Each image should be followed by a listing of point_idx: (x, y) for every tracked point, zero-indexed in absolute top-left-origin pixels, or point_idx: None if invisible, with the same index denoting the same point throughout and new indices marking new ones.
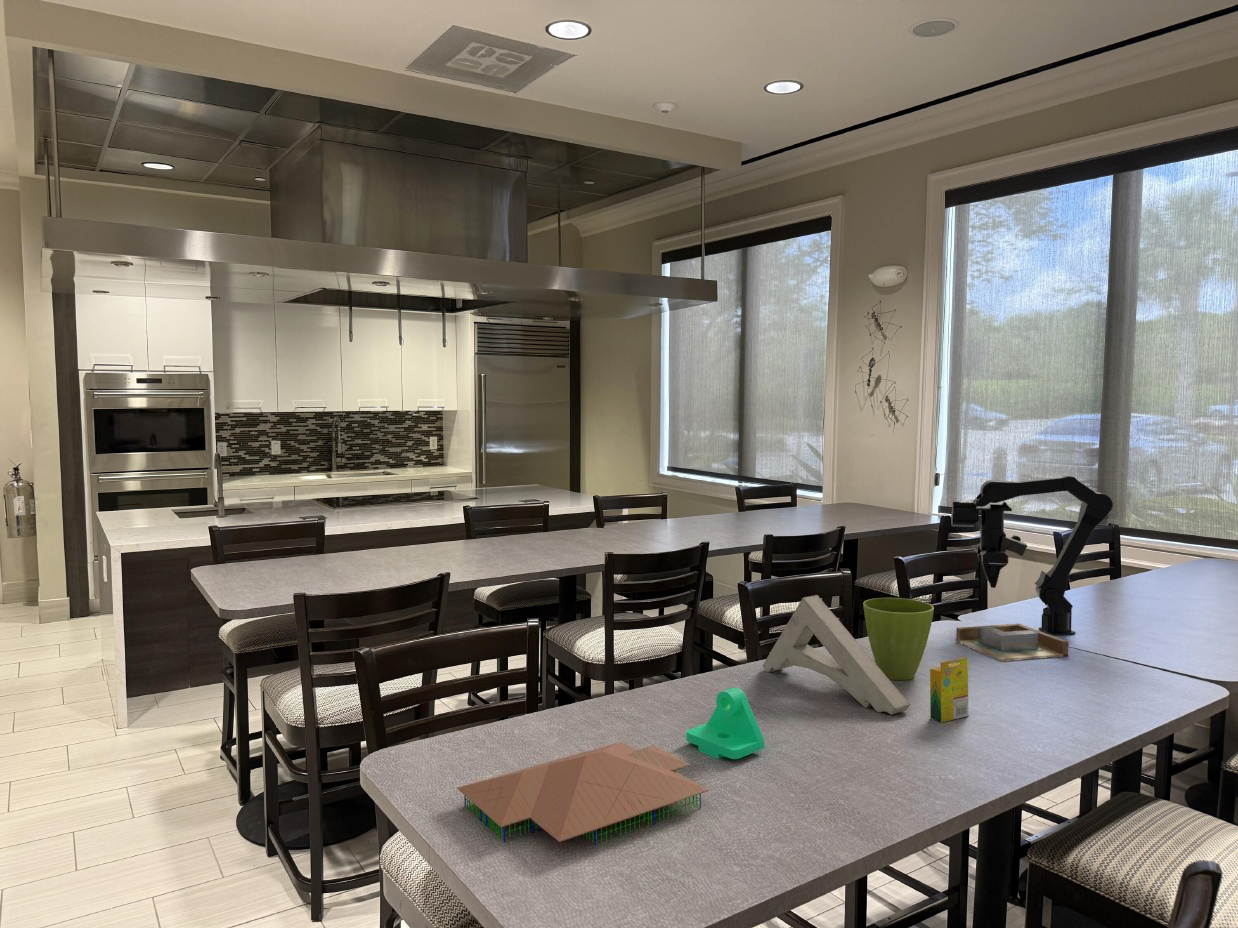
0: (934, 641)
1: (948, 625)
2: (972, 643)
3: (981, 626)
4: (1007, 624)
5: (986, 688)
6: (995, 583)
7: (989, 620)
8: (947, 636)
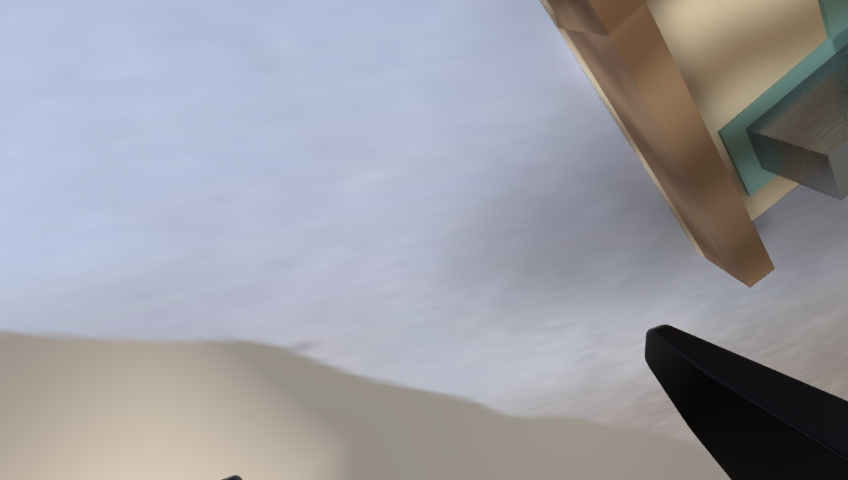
0: (705, 311)
1: (426, 356)
2: (763, 187)
3: (837, 187)
4: (635, 74)
5: None
6: (725, 358)
7: (163, 242)
8: (622, 300)
